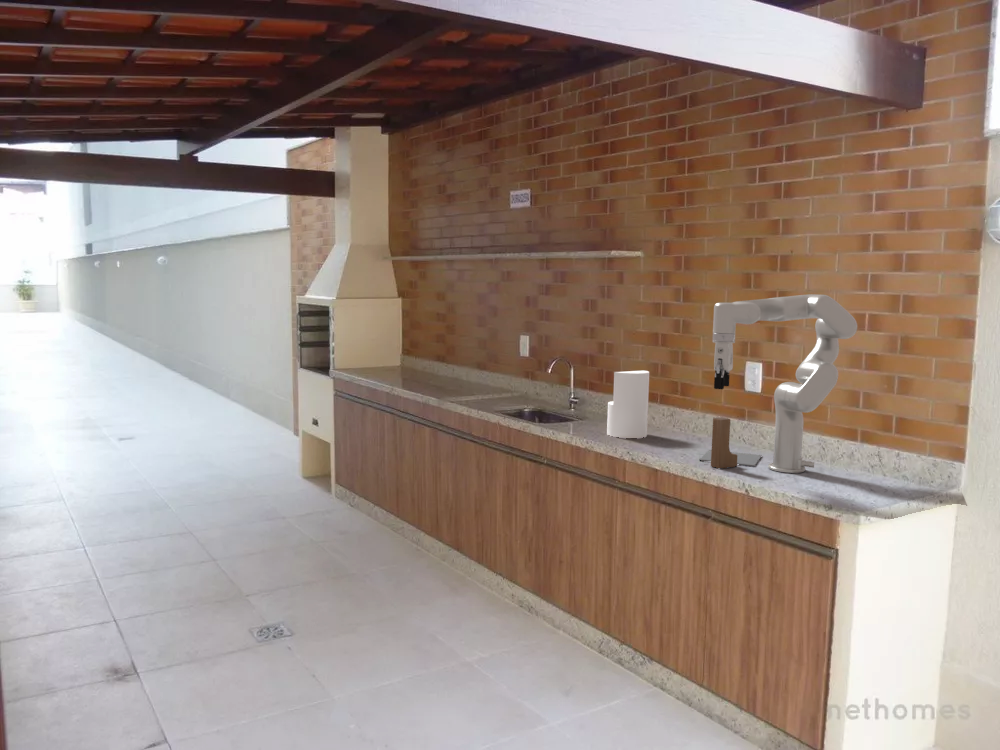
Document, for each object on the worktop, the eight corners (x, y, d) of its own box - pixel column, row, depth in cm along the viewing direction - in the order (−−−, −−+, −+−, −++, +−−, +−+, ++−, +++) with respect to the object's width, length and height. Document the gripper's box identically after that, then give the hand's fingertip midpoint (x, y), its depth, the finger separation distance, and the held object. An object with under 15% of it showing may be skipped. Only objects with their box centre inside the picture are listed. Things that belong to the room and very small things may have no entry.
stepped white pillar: (655, 436, 356) (657, 372, 353) (625, 440, 346) (628, 374, 343) (627, 430, 370) (630, 368, 367) (598, 433, 360) (600, 370, 357)
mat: (761, 456, 317) (761, 455, 317) (754, 466, 299) (754, 465, 299) (709, 451, 326) (709, 449, 326) (699, 461, 307) (699, 459, 307)
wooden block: (728, 464, 302) (730, 416, 300) (737, 466, 298) (739, 418, 296) (710, 466, 298) (712, 417, 296) (719, 469, 294) (721, 419, 292)
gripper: (730, 340, 274) (728, 391, 276) (739, 337, 289) (737, 385, 291) (707, 339, 277) (705, 389, 279) (717, 336, 293) (715, 384, 295)
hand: (721, 387), depth 285 cm, fingers open, 9 cm apart
